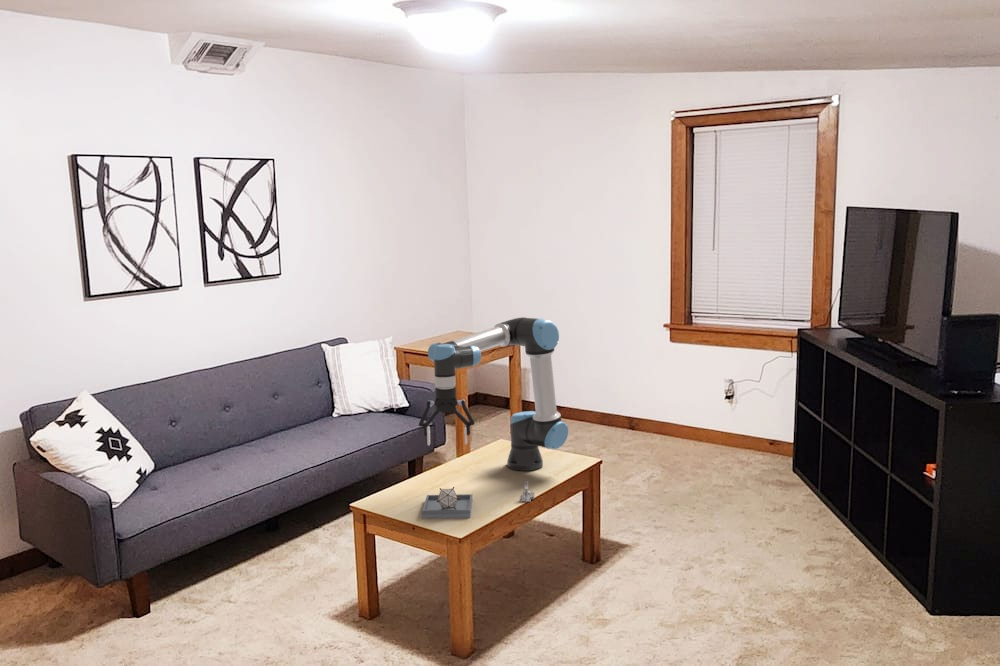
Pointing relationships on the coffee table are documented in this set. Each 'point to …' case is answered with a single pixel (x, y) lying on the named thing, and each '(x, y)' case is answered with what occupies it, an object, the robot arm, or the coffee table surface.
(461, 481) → the coffee table surface
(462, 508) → the square tray
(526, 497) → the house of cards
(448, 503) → the game die
